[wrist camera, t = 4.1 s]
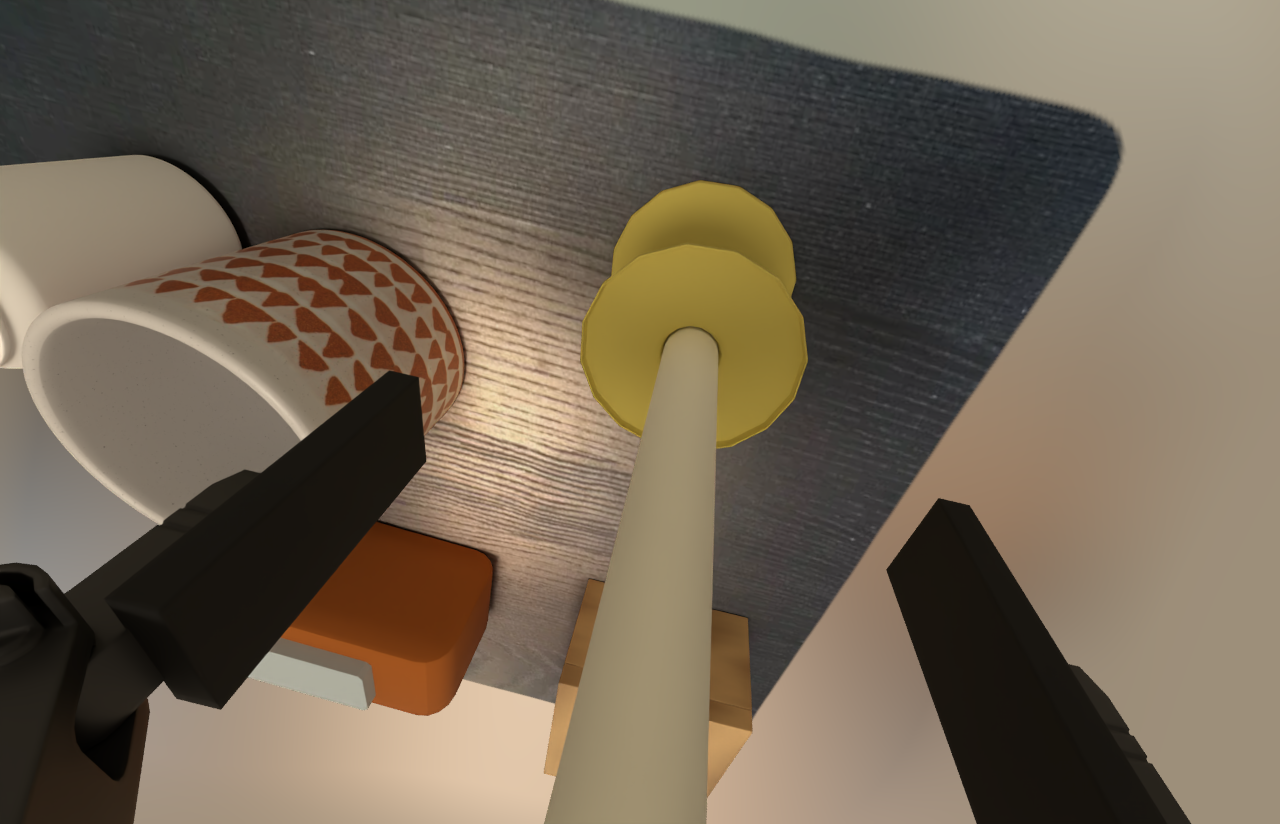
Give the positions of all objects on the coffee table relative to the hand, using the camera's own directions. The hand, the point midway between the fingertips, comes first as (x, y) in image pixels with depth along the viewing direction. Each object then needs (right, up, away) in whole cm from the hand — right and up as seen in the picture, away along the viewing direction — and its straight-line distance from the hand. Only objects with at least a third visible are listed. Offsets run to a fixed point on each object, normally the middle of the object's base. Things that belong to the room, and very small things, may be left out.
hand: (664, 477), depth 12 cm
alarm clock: (-25, -11, +31) cm, 42 cm away
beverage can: (-28, +13, +17) cm, 35 cm away
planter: (-18, +7, +19) cm, 27 cm away
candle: (+3, +9, +14) cm, 17 cm away
